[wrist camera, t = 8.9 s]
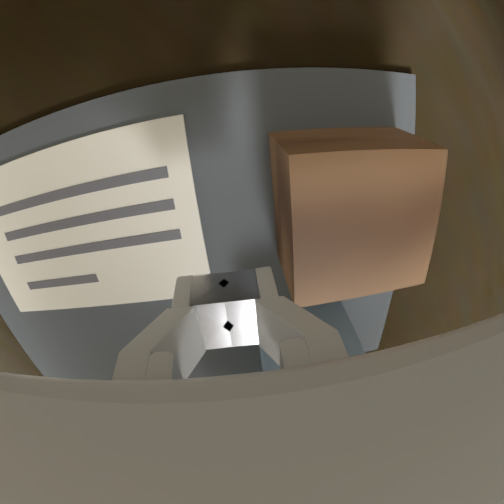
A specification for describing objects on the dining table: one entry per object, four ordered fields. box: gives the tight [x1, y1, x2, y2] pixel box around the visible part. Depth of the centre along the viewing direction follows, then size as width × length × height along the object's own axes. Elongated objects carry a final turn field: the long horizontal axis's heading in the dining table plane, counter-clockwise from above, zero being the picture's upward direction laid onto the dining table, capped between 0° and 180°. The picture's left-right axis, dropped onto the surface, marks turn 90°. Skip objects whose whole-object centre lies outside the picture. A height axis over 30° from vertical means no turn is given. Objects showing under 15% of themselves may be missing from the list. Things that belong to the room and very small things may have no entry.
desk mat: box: [0, 67, 416, 380], centre depth 16 cm, size 18×26×1 cm
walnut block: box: [268, 127, 448, 307], centre depth 12 cm, size 6×6×4 cm
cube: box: [259, 301, 365, 371], centre depth 17 cm, size 5×5×5 cm
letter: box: [0, 114, 211, 312], centre depth 14 cm, size 9×13×1 cm
